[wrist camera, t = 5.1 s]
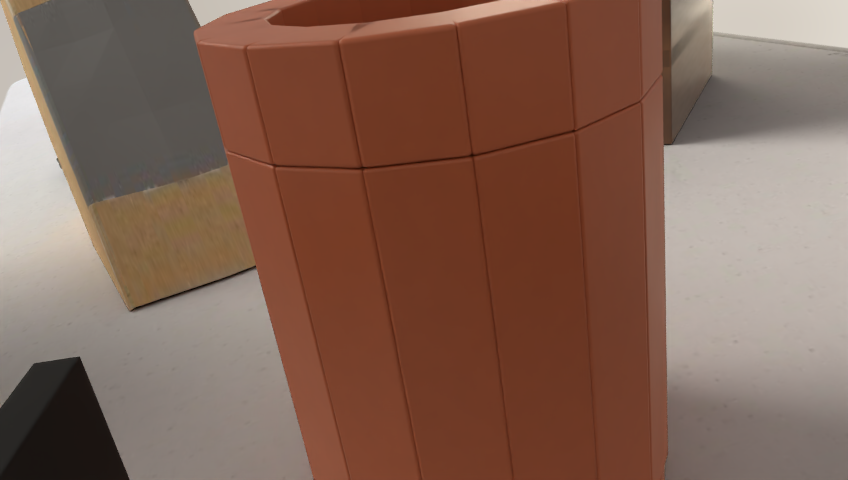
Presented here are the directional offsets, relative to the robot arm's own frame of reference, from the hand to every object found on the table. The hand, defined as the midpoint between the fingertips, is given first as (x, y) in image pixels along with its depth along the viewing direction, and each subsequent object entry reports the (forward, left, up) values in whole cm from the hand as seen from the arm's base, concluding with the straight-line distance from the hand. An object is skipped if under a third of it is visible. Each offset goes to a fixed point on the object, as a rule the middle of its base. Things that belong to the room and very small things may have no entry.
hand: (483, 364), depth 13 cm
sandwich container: (-24, +15, -7) cm, 29 cm away
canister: (-2, +4, -7) cm, 8 cm away
